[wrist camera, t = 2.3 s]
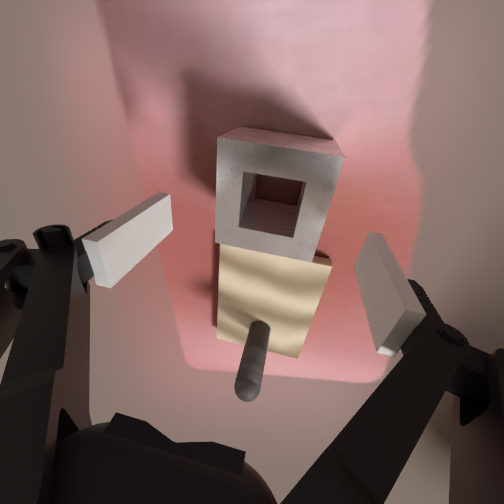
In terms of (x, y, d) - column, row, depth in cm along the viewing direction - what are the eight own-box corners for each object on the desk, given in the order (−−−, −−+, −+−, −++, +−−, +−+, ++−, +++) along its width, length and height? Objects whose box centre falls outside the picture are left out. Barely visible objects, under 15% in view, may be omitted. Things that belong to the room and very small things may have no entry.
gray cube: (241, 126, 22) (217, 137, 16) (335, 140, 21) (344, 156, 15) (235, 211, 27) (214, 242, 21) (311, 225, 26) (311, 262, 20)
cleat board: (223, 237, 29) (182, 305, 20) (331, 259, 28) (341, 343, 18) (219, 330, 39) (190, 404, 30) (297, 350, 38) (293, 434, 28)
